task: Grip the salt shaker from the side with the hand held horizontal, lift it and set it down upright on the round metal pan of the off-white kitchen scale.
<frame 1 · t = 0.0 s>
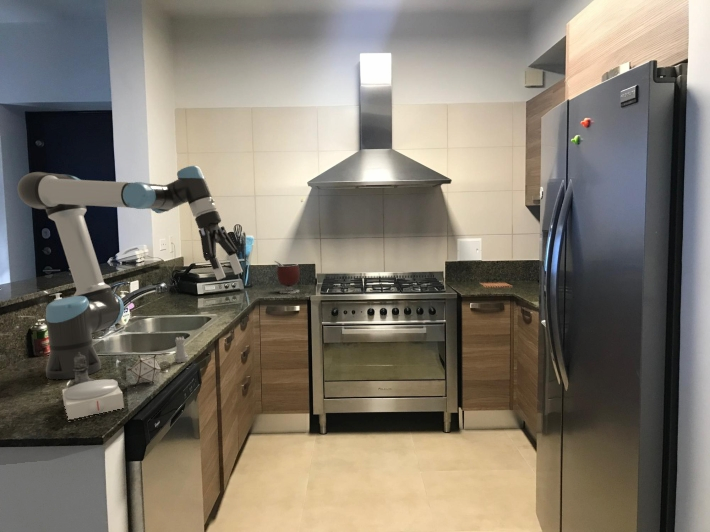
hand: (230, 275, 157), 28 cm above the table, tool tilted 20°, fingers open, 13 cm apart
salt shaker: (83, 395, 133), on the table
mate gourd: (288, 292, 307), on the table
rook chess piece: (181, 361, 161), on the table
game die: (147, 383, 140), on the table
kitchen scale: (93, 406, 124), on the table
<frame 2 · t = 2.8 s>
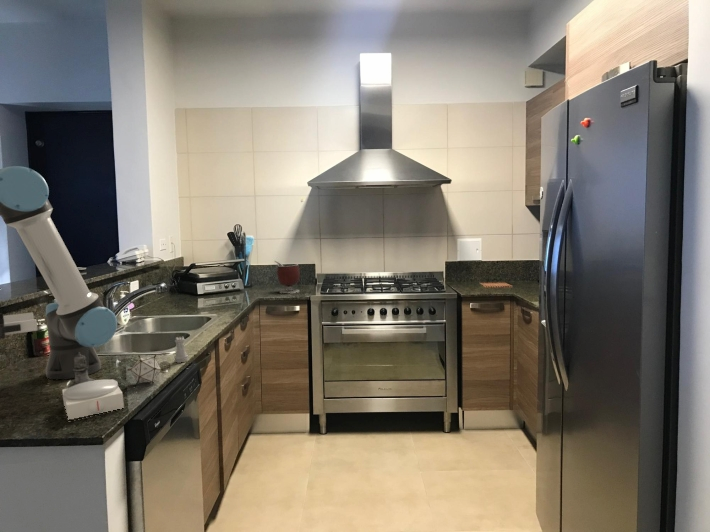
hand: (35, 320, 126), 22 cm above the table, tool horizontal, fingers open, 13 cm apart
nothing on the table moved.
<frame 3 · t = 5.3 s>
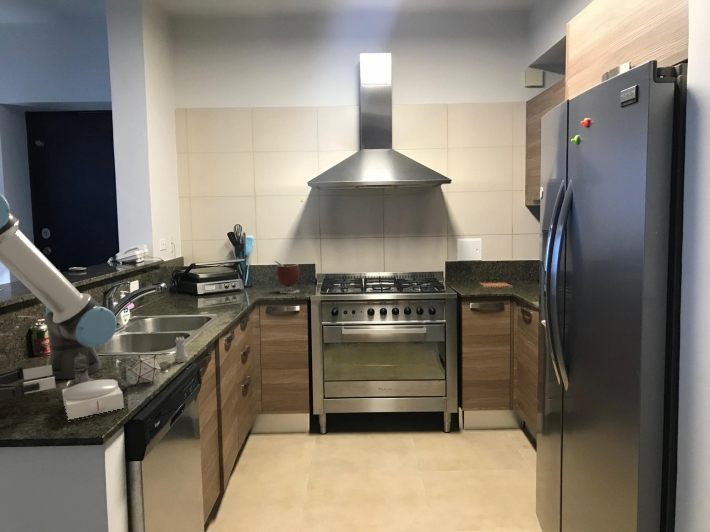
hand: (53, 375, 129), 7 cm above the table, tool horizontal, fingers open, 13 cm apart
nothing on the table moved.
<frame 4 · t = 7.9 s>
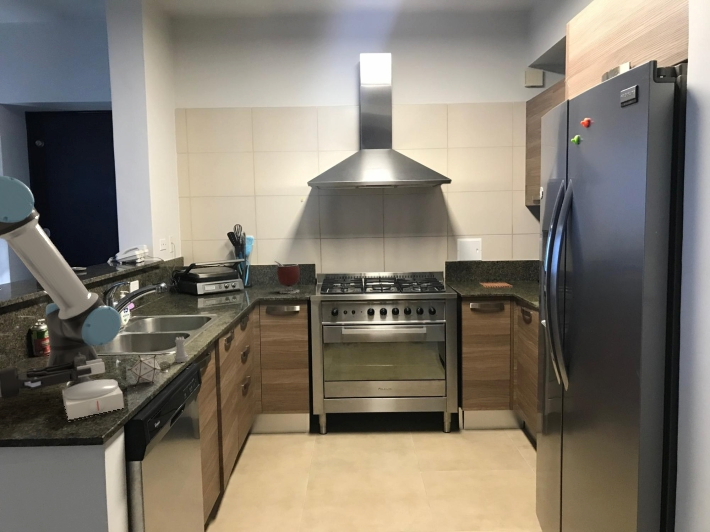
hand: (103, 365, 135), 7 cm above the table, tool horizontal, fingers closed on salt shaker, 4 cm apart
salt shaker: (83, 395, 133), on the table, touching gripper
everything else where it was.
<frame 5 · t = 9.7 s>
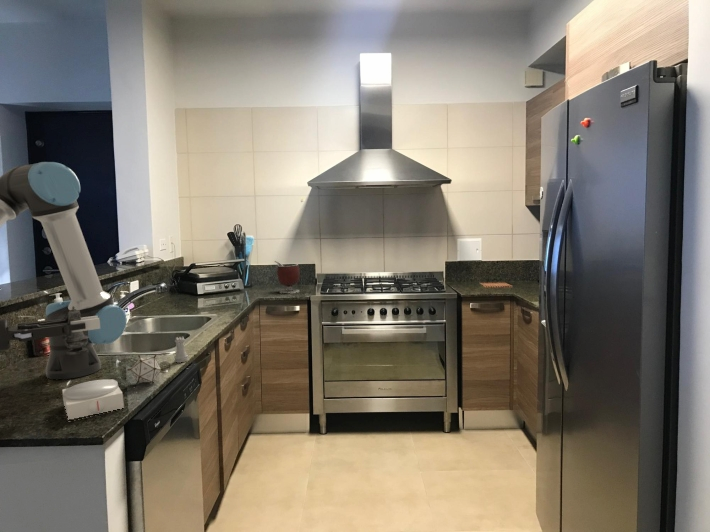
hand: (98, 322, 129), 20 cm above the table, tool horizontal, fingers closed on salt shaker, 4 cm apart
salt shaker: (77, 352, 127), point 13 cm above the table, touching gripper
everything else where it was.
when the fingers open (13 cm above the table, at t = 11.5 s): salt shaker drops 1 cm, resting on kitchen scale.
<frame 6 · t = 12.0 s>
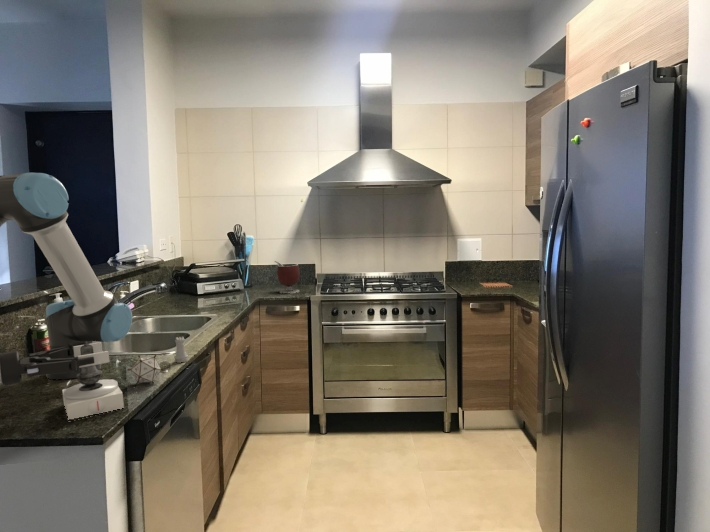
hand: (105, 351, 125), 13 cm above the table, tool horizontal, fingers open, 11 cm apart
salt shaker: (91, 388, 123), point 5 cm above the table, touching kitchen scale
everything else where it was.
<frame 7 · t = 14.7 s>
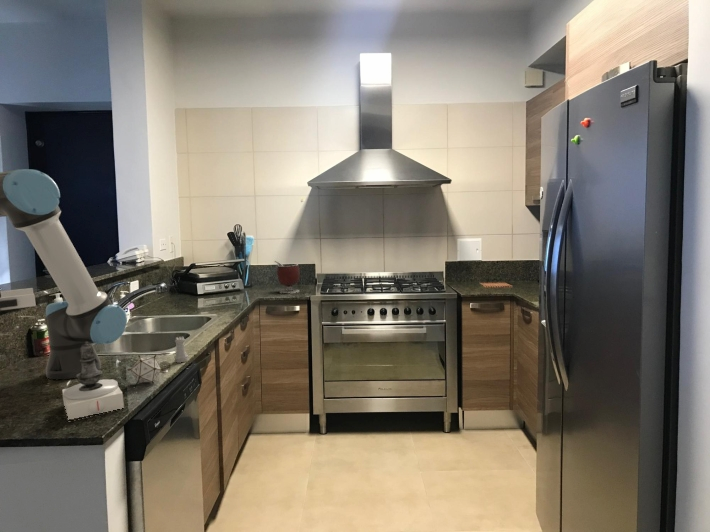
hand: (34, 296, 115), 30 cm above the table, tool horizontal, fingers open, 13 cm apart
nothing on the table moved.
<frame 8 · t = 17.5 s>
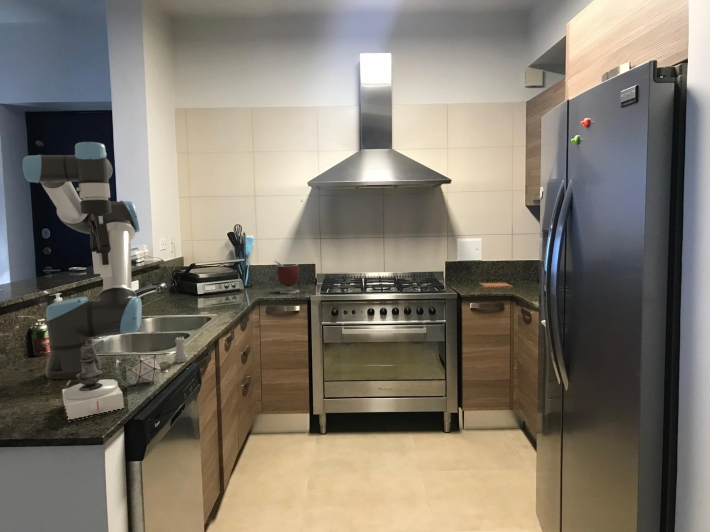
hand: (102, 275, 138), 32 cm above the table, tool pointing down, fingers open, 13 cm apart
nothing on the table moved.
at the end: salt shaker inside the target area on the kitchen scale (0.1 cm from its centre), point 4.8 cm above the kitchen scale's base; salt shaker tilted 0°; the gripper is holding nothing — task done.
